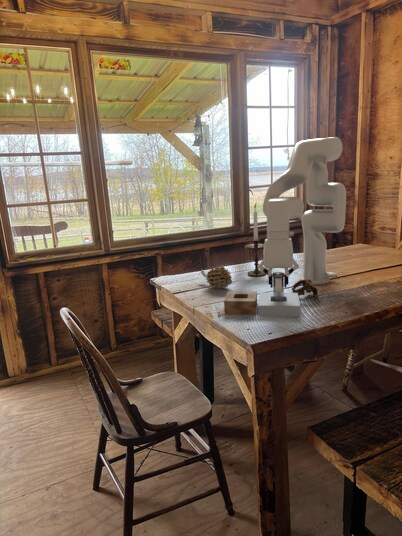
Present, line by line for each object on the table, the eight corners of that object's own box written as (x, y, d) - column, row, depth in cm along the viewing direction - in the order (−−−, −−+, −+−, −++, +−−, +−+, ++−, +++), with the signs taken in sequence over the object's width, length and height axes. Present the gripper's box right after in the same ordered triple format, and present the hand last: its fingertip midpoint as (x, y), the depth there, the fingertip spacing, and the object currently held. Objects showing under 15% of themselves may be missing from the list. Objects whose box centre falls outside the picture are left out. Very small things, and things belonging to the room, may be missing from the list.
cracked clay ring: (320, 303, 137) (309, 286, 135) (297, 311, 142) (286, 294, 140) (322, 286, 147) (312, 270, 145) (301, 294, 152) (291, 278, 150)
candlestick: (272, 275, 177) (271, 201, 168) (252, 278, 173) (250, 203, 165) (261, 270, 187) (259, 200, 178) (241, 273, 183) (239, 202, 175)
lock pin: (284, 303, 134) (284, 271, 131) (284, 307, 130) (284, 274, 127) (272, 303, 134) (272, 271, 132) (272, 307, 130) (272, 275, 128)
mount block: (257, 304, 139) (256, 291, 138) (255, 314, 129) (255, 301, 128) (228, 303, 142) (227, 291, 140) (224, 314, 131) (224, 301, 130)
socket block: (297, 302, 138) (297, 292, 137) (300, 316, 125) (300, 305, 124) (259, 302, 141) (259, 292, 140) (258, 316, 127) (258, 305, 126)
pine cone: (239, 289, 159) (238, 266, 157) (222, 294, 153) (221, 271, 151) (207, 279, 176) (206, 259, 174) (191, 284, 171) (189, 263, 168)
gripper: (302, 233, 128) (302, 283, 132) (254, 234, 131) (255, 283, 136) (304, 236, 121) (303, 289, 125) (252, 238, 124) (254, 289, 129)
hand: (278, 286), depth 130 cm, fingers closed on lock pin, 4 cm apart
